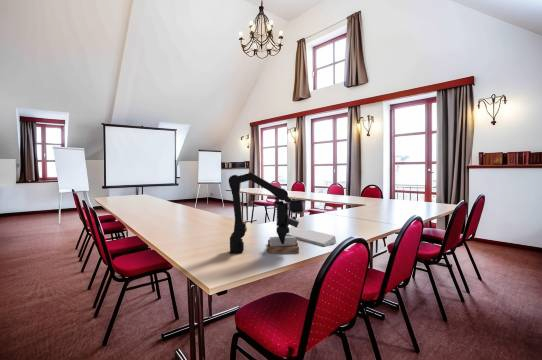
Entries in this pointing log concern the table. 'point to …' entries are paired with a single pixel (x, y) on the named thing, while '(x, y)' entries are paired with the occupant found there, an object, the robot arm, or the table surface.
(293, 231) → the decorative molding
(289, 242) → the clay strip
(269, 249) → the drying rack
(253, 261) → the table surface
